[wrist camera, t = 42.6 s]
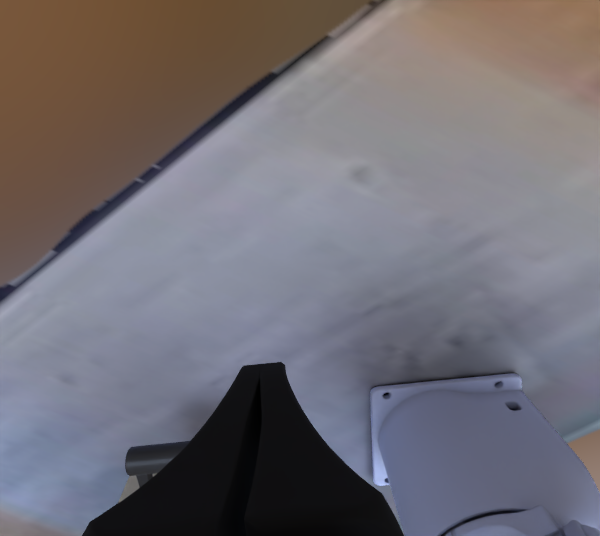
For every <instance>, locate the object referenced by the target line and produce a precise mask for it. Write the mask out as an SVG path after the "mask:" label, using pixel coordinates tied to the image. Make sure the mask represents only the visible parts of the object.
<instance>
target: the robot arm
mask: <svg viewBox="0 0 600 536" xmlns="http://www.w3.org/2000/svg"><path fill="white" fill-rule="evenodd" d="M499 381H500V382H499ZM496 382H499V383H498V384H496V385H495V383H496ZM521 389H522V379H521V377H520V376H519V375H518V374H516V373H510V374H500V375H490V376H480V377H470V378H460V379H449V380H439V381H429V382H419V383H409V384H398V385H388V386H378V387H374V388H373V389H372V390H371V391H370V414H371V444H372V473H373V481H374V483H375V484H376V485H378V486H384V485H390V487H391V490H392V494H393V497H394V501H395V504H396V508H397V511H398V515H399V518H400V522H401V525H402V529H403V532H404V535H403V533H402V530H401V528H400V526H399V524H398V522H397V520H396V518H395V516H394V514H393V512H392V510H391V508H390V507H389V505H388V503H387V501H386V500H385V498H384V496H383V495H382V493H381V492H379V491H378V490H376V489H375V488H374V487H372V486H371V485H370V484H368V483H367V482H366V481H365V480H364V479H362V478H361V477H360V476H359V475H358V474H356V473H355V472H354V471H353V470H352V469H351V468H350V467H349V466H347V465H346V464H345V463H344V461H343V460H342V459H341V458H340V457H339V456H338V455H337V454H336V453H335V452H334V451H333V450H332V449H331V448H330V447H329V446H328V445H327V443H326V442H325V441H324V440H323V439H322V437H321V436H320V435H319V434H318V432H317V431H316V430H315V428H314V427H313V425H312V424H311V423H310V421H309V420H308V418H307V416H306V415H305V413H304V412H303V410H302V408H301V406H300V405H299V403H298V401H297V399H296V397H295V395H294V393H293V391H292V389H291V386H290V384H289V381H288V379H287V375H286V370H285V365H284V364H283V363H282V362H277V363H267V364H257V365H247V366H243V367H242V368H241V369H240V371H239V373H238V375H237V377H236V379H235V380H234V382H233V384H232V385H231V387H230V389H229V390H228V392H227V393H226V395H225V396H224V398H223V399H222V401H221V402H220V404H219V405H218V407H217V408H216V410H215V411H214V412H213V414H212V415H211V416H210V418H209V419H208V420H207V422H206V423H205V424H204V426H203V427H202V428H201V429H200V431H199V432H198V433H197V434H196V435H195V437H194V438H193V439H192V440H191V441H190V442H189V443H188V444H187V445H186V447H185V448H184V449H183V450H182V451H181V452H180V453H179V454H178V455H177V456H176V457H175V458H174V459H172V460H171V461H170V462H169V463H168V464H167V465H166V466H165V467H164V468H163V469H162V470H161V471H160V472H158V473H157V474H156V475H155V476H154V477H152V478H151V479H150V480H149V481H147V482H146V483H145V484H144V485H142V486H141V487H140V488H139V489H137V490H136V491H135V492H133V493H132V494H131V495H129V496H128V497H127V498H125V499H124V500H122V501H121V502H119V503H118V504H116V505H115V506H113V507H112V508H110V509H109V510H107V511H106V512H104V513H103V514H101V515H100V516H98V517H97V518H95V519H94V520H92V521H91V522H90V523H89V524H88V526H87V528H86V530H85V532H84V533H83V535H82V536H600V493H599V491H598V488H597V487H596V484H595V483H594V480H593V479H592V477H591V475H590V473H589V472H588V470H587V468H586V467H585V465H584V464H583V462H582V461H581V460H580V459H579V457H578V456H577V455H576V454H575V452H574V451H573V450H572V449H571V448H570V447H569V445H568V444H567V443H566V442H565V441H564V440H563V438H562V437H561V436H560V435H559V434H558V433H557V431H556V430H555V429H554V428H553V427H552V426H551V424H550V423H549V422H548V421H547V420H546V418H545V417H544V416H543V415H542V414H541V413H540V411H539V410H538V409H537V408H536V407H535V406H534V404H533V403H532V402H531V401H530V400H529V399H528V397H527V396H526V395H525V394H524V393H523V392H522V391H521ZM386 392H388V393H389V394H388V395H383V394H384V393H386ZM387 477H388V478H387Z"/></svg>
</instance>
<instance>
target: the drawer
mask: <svg viewBox="0 0 600 536" xmlns="http://www.w3.org/2000/svg"><path fill="white" fill-rule="evenodd" d="M189 442H190V441H186V442H176V443H166V444H156V445H145V446H135V447H131V448H130V449H129V450H128V452H127V455H126V461H125V467H126V472H127V474H128V475H129V478H128V481H127V483H126V485H125V488H124V490H123V492H122V495H121V497H120V500H119V502H121V501H122V500H124V499H125V498H127V497H128V496H129V495H131V494H132V493H133V492H135V491H136V490H137V489H139V488H140V487H141V486H142V485H144V484H145V483H146V482H147V481H149V480H150V479H151V478H152V477H154V476H155V475H156V474H157V473H158V472H160V471H161V470H162V469H163V468H164V467H165V466H166V465H167V464H168V463H169V462H170V461H171V460H172V459H174V458H175V457H176V456H177V455H178V454H179V453H180V452H181V451H182V450H183V449H184V448H185V447H186V445H187V444H188V443H189ZM119 502H118V503H119Z"/></svg>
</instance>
